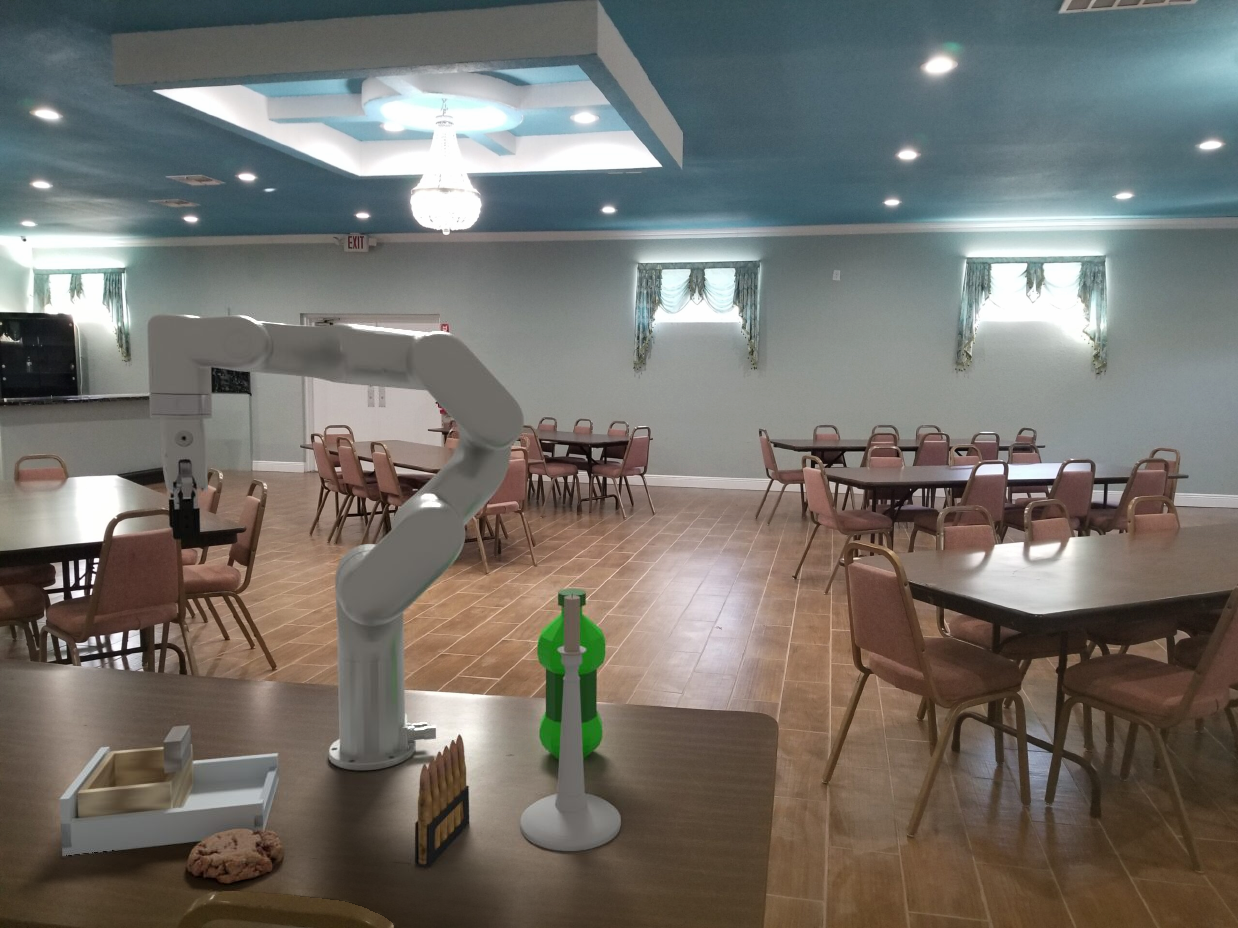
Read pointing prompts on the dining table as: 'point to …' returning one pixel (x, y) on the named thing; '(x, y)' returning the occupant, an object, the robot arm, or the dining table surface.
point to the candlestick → (571, 768)
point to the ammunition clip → (441, 804)
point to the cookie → (236, 855)
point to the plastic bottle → (555, 673)
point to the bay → (214, 805)
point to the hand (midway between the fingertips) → (184, 532)
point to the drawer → (141, 778)
